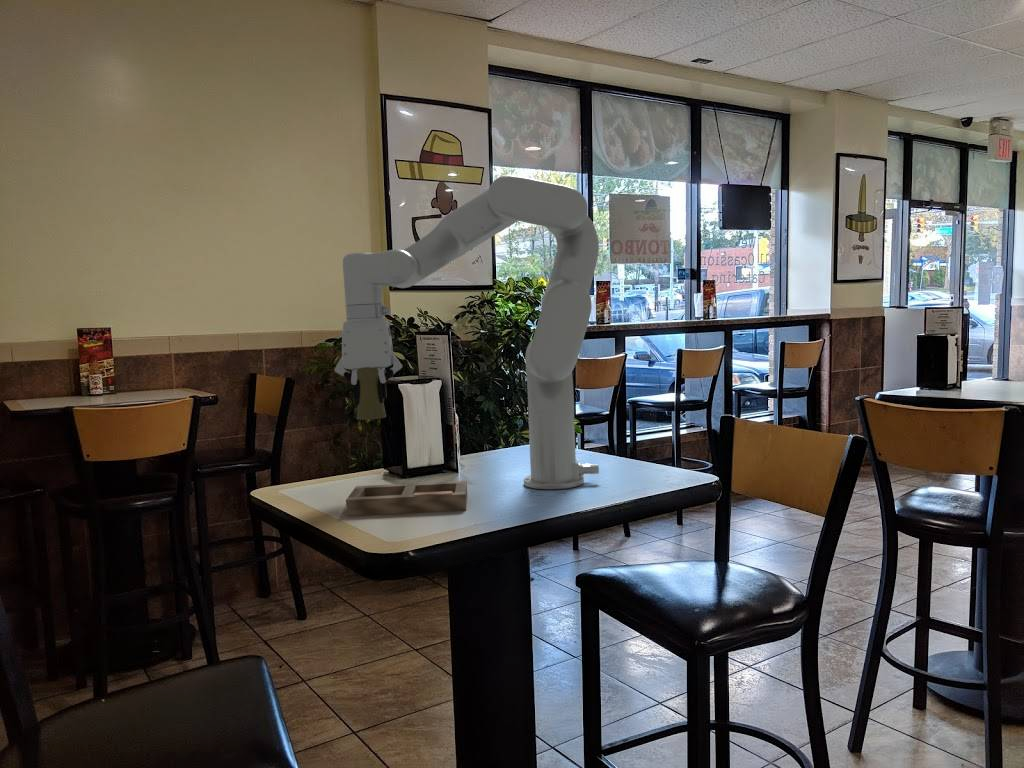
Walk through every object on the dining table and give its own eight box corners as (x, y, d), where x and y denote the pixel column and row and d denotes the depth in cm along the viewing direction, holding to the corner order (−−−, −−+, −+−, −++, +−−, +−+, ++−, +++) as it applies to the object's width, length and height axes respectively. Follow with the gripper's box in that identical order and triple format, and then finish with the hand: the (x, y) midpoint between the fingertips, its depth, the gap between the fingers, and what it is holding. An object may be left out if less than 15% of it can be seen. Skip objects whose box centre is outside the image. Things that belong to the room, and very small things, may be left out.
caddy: (467, 495, 159) (466, 479, 159) (466, 510, 147) (465, 492, 147) (357, 500, 159) (356, 484, 158) (346, 516, 147) (345, 498, 146)
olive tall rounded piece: (379, 419, 161) (376, 365, 160) (352, 420, 163) (348, 366, 162) (390, 415, 167) (387, 363, 166) (363, 416, 168) (360, 364, 167)
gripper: (407, 311, 167) (412, 398, 169) (327, 316, 167) (333, 403, 168) (403, 311, 159) (409, 402, 161) (320, 316, 159) (326, 407, 161)
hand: (370, 401), depth 165 cm, fingers closed on olive tall rounded piece, 3 cm apart
